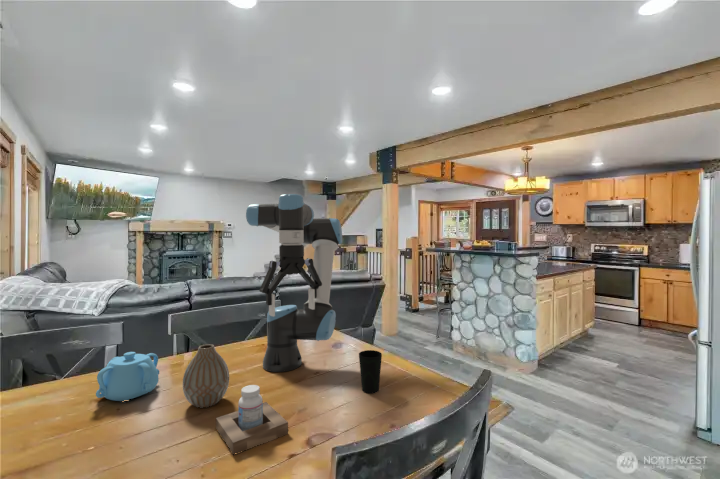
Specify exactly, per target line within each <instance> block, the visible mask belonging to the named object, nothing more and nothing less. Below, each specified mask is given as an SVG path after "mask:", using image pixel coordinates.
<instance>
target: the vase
mask: <svg viewBox="0 0 720 479" xmlns="http://www.w3.org/2000/svg"><path fill="white" fill-rule="evenodd" d="M229 384H230V371H229V367H228V364H227V362H226V360H225V359H224V358H223V356H221V355H220V353H218V351H217V350H216V348H215V345H214V344H209V343H206V344H202V345H199V346H198V349H197V352H196V353H195V355H193V357H192V358H191V360H190V361H189V363H188V365H187V367H186V368H185V371H184V373H183V379H182V391H183V394H184V398H185V399H186V400H187V401H188V403H190V404H191V405H192V406H194V407H196V408H198V407H200V408H199V409H204V408H203V407H206V408H210V407H213V406H215V405H216V404H218V403H219V402H220V401H221V400H222V399H223V397H224V396H225V395H226V392H227V390H228V388H229ZM212 405H213V406H212ZM209 406H210V407H209Z"/></svg>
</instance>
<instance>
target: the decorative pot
mask: <svg viewBox="0 0 720 479" xmlns="http://www.w3.org/2000/svg"><path fill="white" fill-rule="evenodd" d="M151 357H153V360H152V358H151ZM158 363H159V356H158V355H157V354H156V353H153V352H150V353H147V354H146V353H145V354H144V353H136V351H128V352H125V353H123V356H114V357H112V358H111V359H110V360H109V362H108V363H107V365H106V366H105V367H103V368H102V369H100V371H99V372H97V376H96V379H97V384H98V385H99V386H98V387H99V388H98V389H97V390H96V392H95V396H96V398H98V399H101V398H105V399H107V400H110V401H115V402H116V401H117V402H121V401H124V400H129V399H131V400H133V399H134V398H138V397H141V396H144V395H146V394H149V393H150V392H152V391H153V390H154V389H155V388H156V387H157V385H158V383H159V382H160V381H159V380H160V378H159V375H160V370H159V369H158V368H157V366H158ZM148 392H149V393H148Z"/></svg>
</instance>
